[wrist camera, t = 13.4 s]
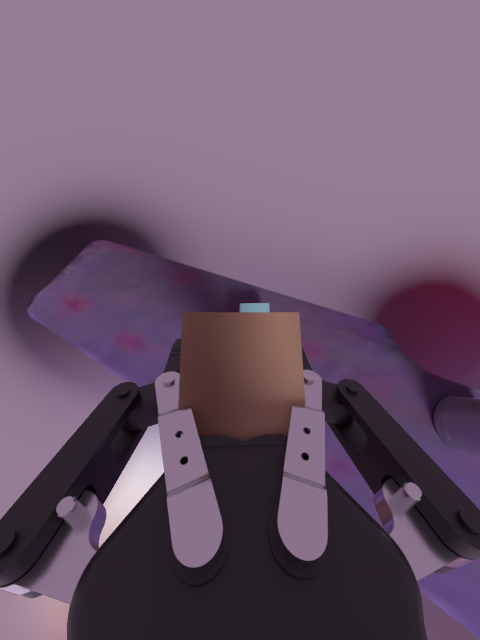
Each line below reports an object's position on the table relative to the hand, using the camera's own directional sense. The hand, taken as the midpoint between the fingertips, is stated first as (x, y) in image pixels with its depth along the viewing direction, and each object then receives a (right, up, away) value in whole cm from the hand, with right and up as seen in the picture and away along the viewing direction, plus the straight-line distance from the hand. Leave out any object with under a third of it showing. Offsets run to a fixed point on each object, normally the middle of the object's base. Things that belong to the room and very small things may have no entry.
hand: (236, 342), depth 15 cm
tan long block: (0, -3, +4) cm, 5 cm away
